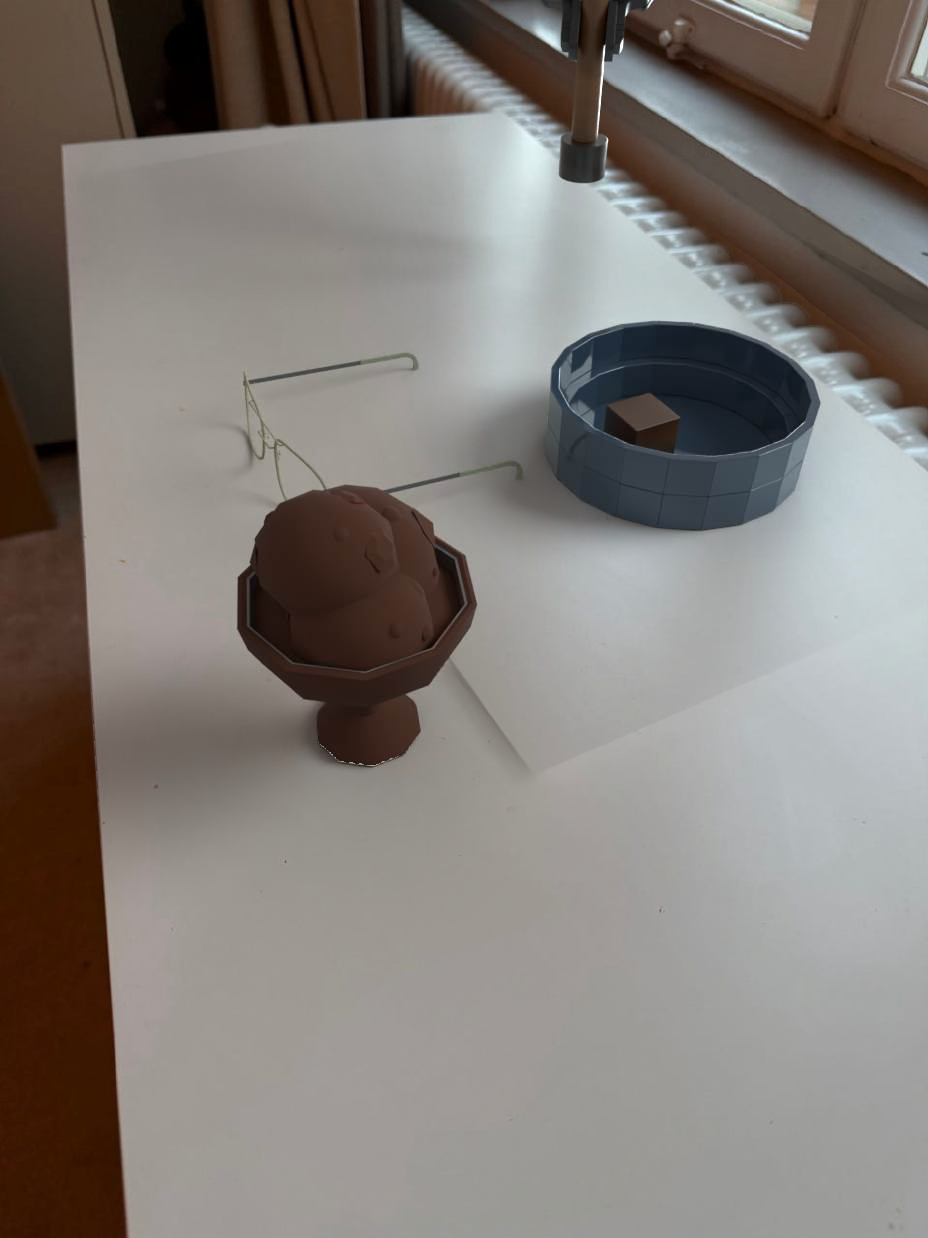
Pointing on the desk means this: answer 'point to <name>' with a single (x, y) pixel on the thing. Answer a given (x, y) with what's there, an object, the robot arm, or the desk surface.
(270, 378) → the eyeglasses
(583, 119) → the pestle
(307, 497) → the ice cream bowl
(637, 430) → the block
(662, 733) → the desk surface
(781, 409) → the bowl
